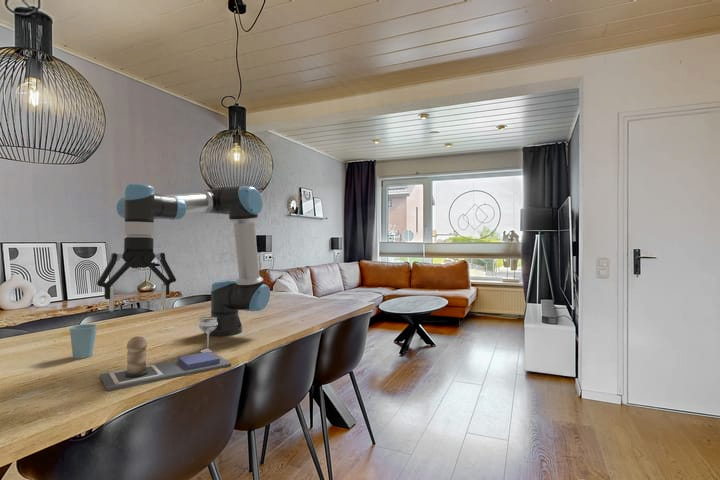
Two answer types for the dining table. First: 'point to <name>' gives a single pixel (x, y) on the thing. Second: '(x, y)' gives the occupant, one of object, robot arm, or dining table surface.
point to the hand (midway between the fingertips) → (138, 308)
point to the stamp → (136, 357)
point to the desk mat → (166, 370)
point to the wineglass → (208, 328)
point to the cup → (83, 340)
